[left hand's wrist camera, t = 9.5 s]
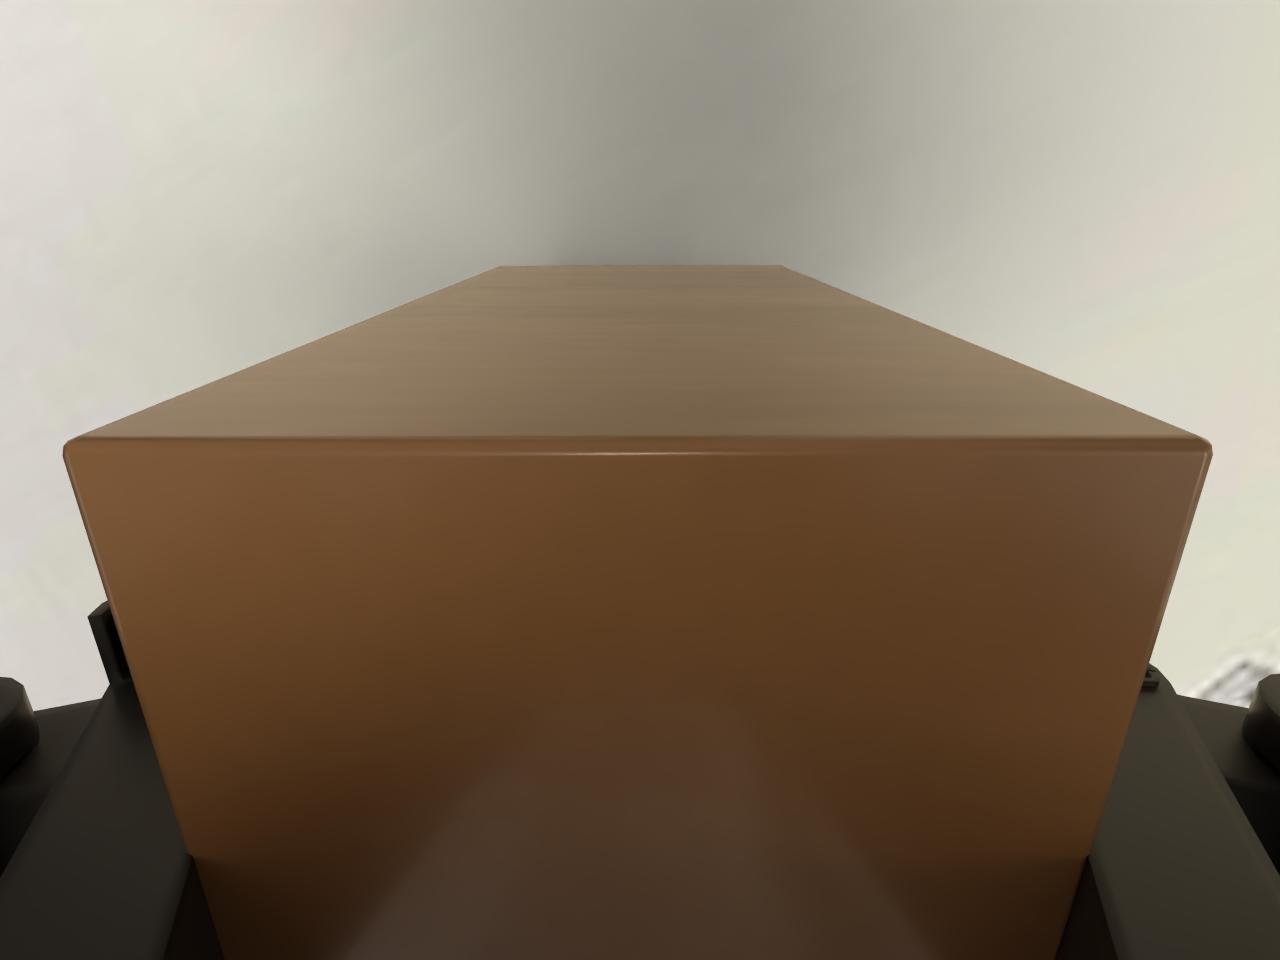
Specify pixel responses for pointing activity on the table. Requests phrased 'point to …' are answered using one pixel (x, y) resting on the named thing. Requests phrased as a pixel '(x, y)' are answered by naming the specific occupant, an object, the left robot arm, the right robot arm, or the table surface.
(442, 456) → the box
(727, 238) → the table surface
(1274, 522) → the table surface
